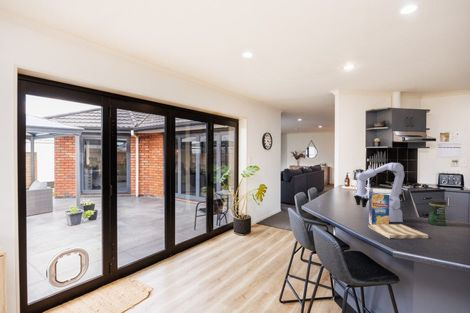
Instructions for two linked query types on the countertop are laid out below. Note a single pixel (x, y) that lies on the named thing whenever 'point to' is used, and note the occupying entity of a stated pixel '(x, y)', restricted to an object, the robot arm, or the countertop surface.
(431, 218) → the coffee jar
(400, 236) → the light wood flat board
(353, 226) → the countertop surface
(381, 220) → the beverage box
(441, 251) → the countertop surface
